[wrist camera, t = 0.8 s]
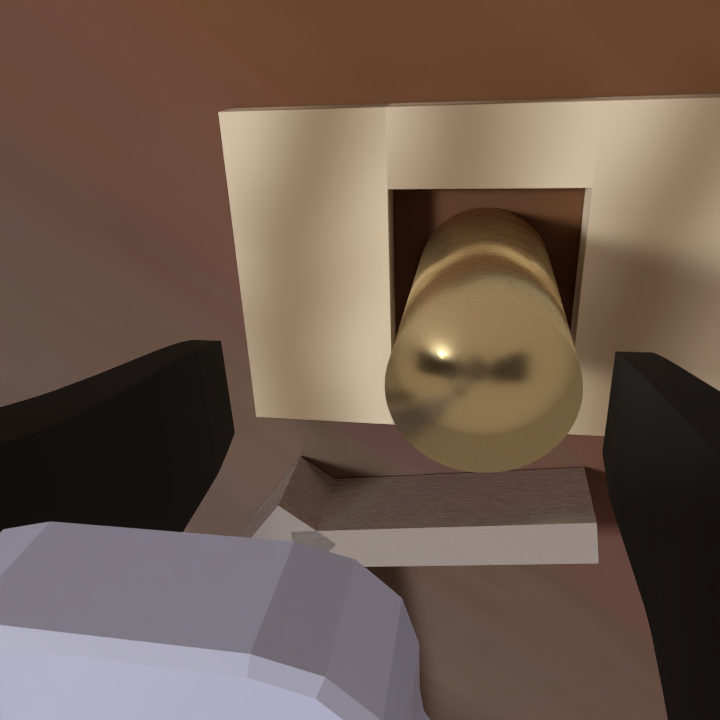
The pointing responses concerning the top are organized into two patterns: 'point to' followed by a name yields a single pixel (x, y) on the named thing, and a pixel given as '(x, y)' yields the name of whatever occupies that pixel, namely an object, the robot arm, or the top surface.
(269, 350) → the beige plate with hole
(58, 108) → the top surface
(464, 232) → the brass axle
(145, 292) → the top surface
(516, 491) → the grey angled bracket
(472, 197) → the top surface
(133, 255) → the top surface
